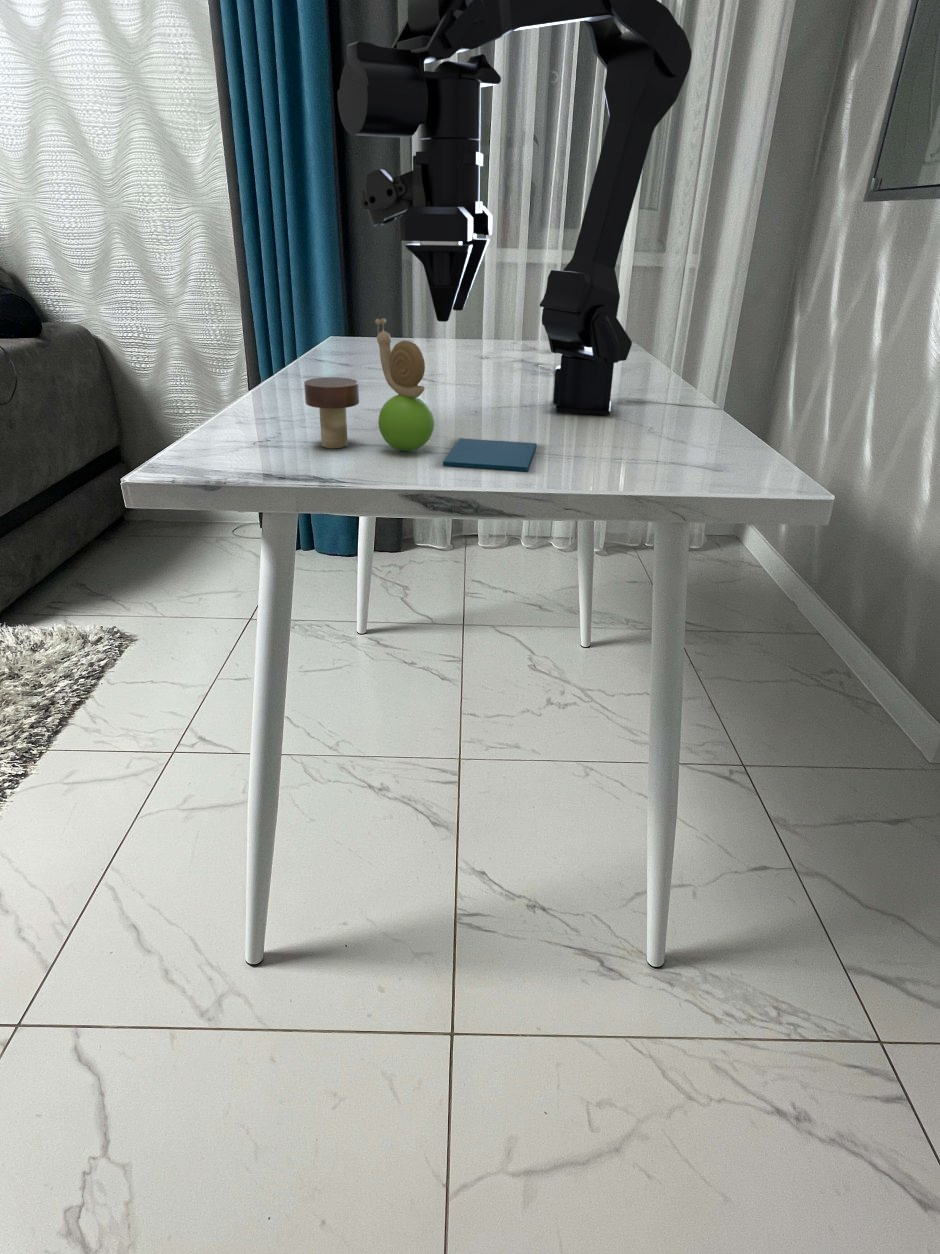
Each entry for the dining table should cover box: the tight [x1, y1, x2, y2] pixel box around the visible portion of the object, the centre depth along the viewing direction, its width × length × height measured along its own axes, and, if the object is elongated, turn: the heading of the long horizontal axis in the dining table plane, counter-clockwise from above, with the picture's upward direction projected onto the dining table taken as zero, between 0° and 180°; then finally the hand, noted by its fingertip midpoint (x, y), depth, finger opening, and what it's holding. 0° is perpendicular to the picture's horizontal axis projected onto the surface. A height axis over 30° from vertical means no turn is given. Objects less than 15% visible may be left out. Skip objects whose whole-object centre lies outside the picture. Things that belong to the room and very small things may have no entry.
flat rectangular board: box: [442, 437, 538, 472], centre depth 79 cm, size 8×9×1 cm
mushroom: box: [303, 376, 360, 449], centre depth 80 cm, size 5×5×6 cm
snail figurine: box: [374, 317, 435, 452], centre depth 78 cm, size 5×6×12 cm
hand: (450, 315), depth 84 cm, fingers open, 9 cm apart
